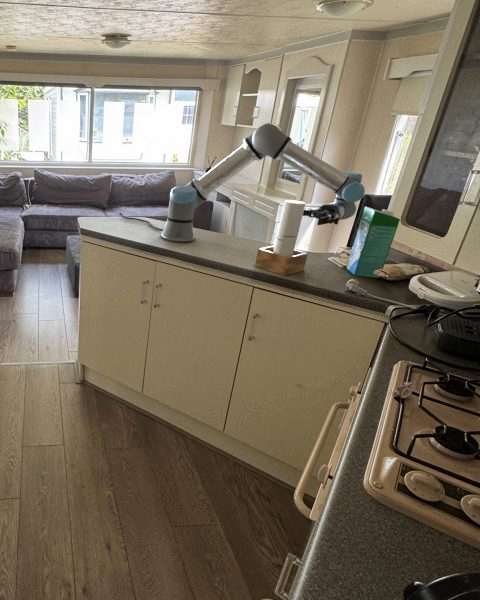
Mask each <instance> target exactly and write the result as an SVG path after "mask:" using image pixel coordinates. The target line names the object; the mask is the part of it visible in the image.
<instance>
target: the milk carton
mask: <svg viewBox="0 0 480 600" xmlns="http://www.w3.org/2000/svg"><path fill="white" fill-rule="evenodd" d="M394 215H395V212H394V211H391V210H388V209H385V208H383V209H381V210H379V209H375V208H372V207H369V206H364V208H363V212H362V215H361V218H360V220H359V221H360V222H359V225H358V228H357V231H356V234H355V238H354V240H353V243H352V248H351V250H350V254H349V256H348V260H347V264H346V266H345V268H346V270H348V271H349V272H350V273H351V274H352V275H353V276H356V277H367V278H378V279H380V278H381V276H378V275H373V272H374V271H375V270H377V269H383V270H384V267H385V264H386V262H387V258H388V256H389V253H390V249H391V247H392V244H393V241H394V238H395V235H396V234H397V233H396V232H397V230H398V227H399V224H400V222H401V221H400V220H401V219H400V218H398V217H396V216H394Z"/></svg>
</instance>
